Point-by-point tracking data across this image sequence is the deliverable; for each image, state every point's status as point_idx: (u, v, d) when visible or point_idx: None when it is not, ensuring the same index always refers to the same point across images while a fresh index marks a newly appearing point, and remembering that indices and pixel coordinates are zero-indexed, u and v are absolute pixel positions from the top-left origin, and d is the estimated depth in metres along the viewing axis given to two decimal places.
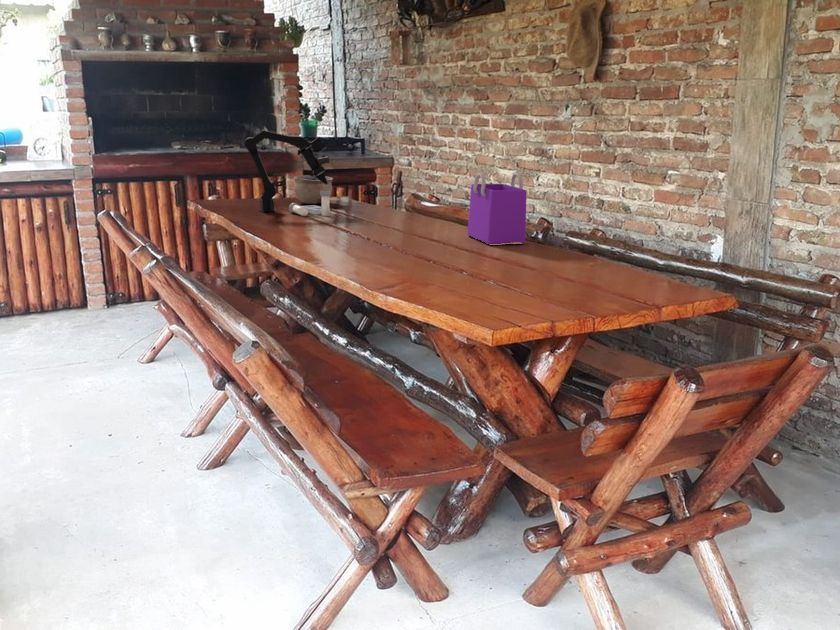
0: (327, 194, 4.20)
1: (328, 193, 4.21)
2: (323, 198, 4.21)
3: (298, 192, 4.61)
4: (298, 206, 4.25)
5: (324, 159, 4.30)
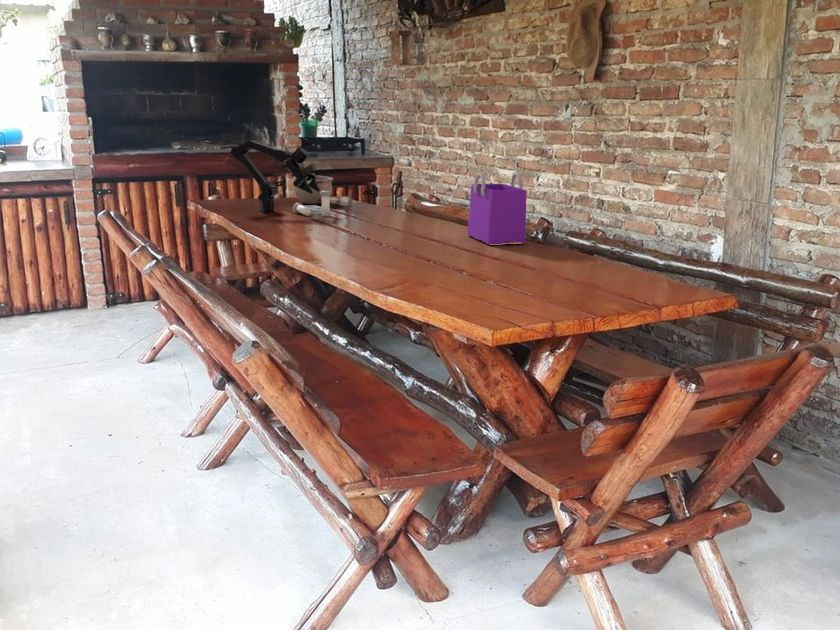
0: (327, 194, 4.20)
1: (328, 193, 4.21)
2: (323, 198, 4.21)
3: (298, 192, 4.61)
4: None
5: (306, 168, 4.19)
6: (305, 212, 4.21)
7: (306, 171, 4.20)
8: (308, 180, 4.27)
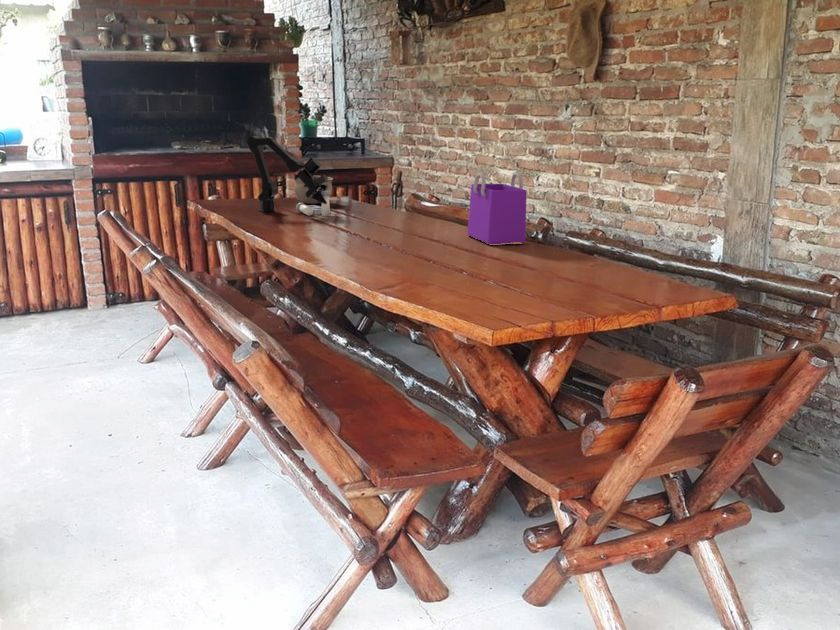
0: (327, 194, 4.20)
1: (328, 193, 4.21)
2: None
3: (298, 192, 4.61)
4: None
5: (319, 179, 4.19)
6: (307, 210, 4.22)
7: (318, 182, 4.19)
8: (320, 190, 4.26)
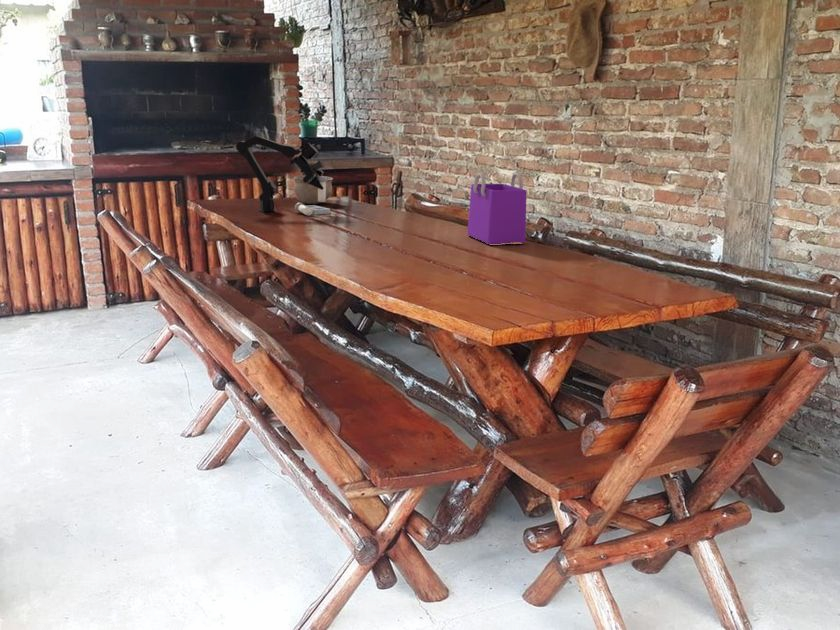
0: (324, 180, 4.24)
1: (325, 179, 4.24)
2: None
3: (298, 192, 4.61)
4: None
5: (316, 164, 4.22)
6: (306, 211, 4.22)
7: (315, 167, 4.22)
8: None
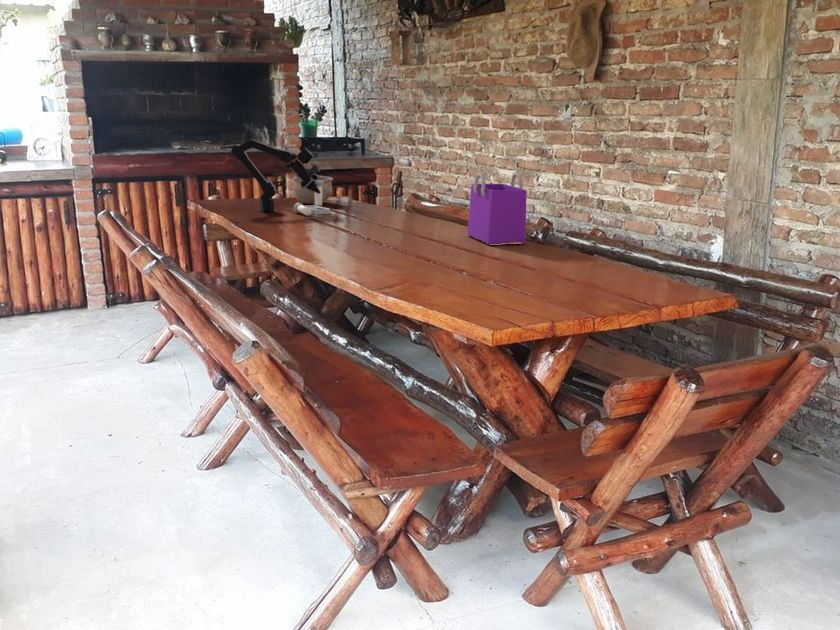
0: (321, 184, 4.28)
1: (321, 183, 4.28)
2: None
3: (298, 192, 4.61)
4: None
5: (312, 169, 4.26)
6: (306, 212, 4.22)
7: (312, 172, 4.26)
8: None
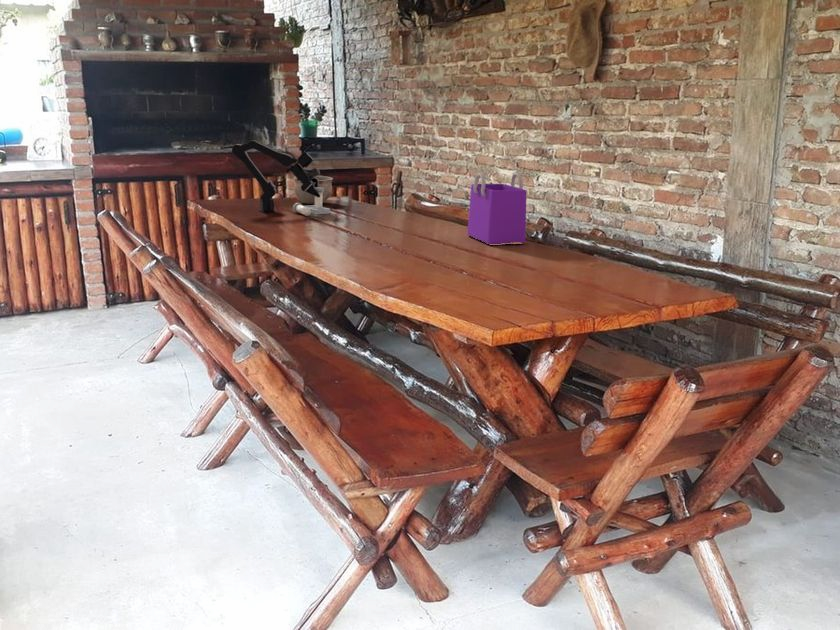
0: (321, 191, 4.29)
1: (322, 190, 4.29)
2: None
3: (298, 192, 4.61)
4: None
5: (312, 172, 4.26)
6: (305, 212, 4.21)
7: (312, 175, 4.27)
8: (312, 184, 4.34)
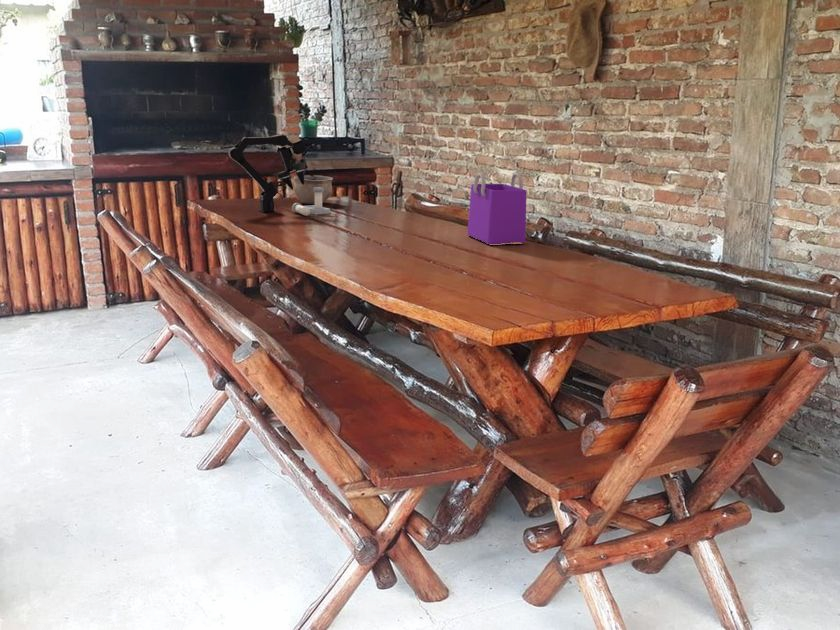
0: (321, 191, 4.29)
1: (322, 190, 4.29)
2: (317, 195, 4.30)
3: (298, 192, 4.61)
4: (303, 206, 4.26)
5: (295, 165, 4.26)
6: (304, 213, 4.21)
7: (294, 167, 4.27)
8: (297, 171, 4.35)
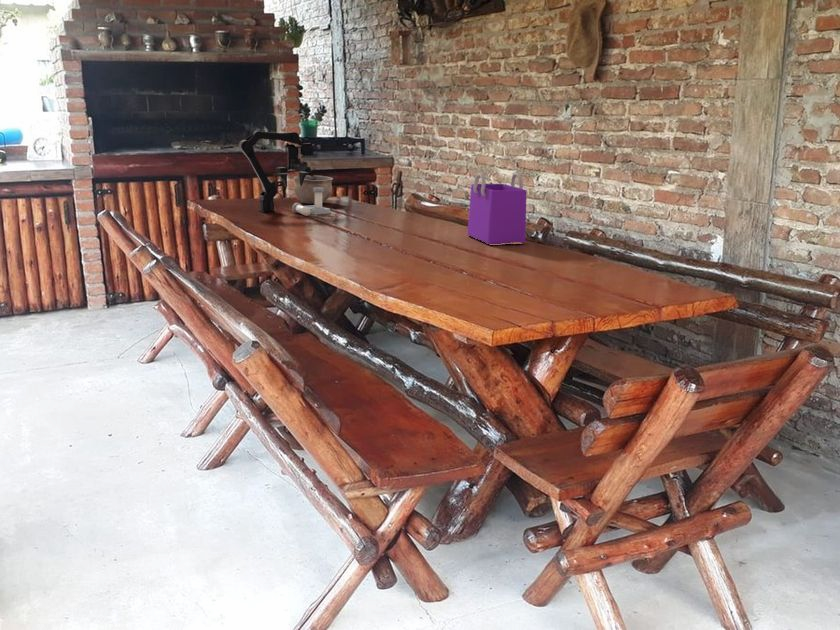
0: (321, 191, 4.29)
1: (321, 190, 4.29)
2: (317, 195, 4.29)
3: (298, 192, 4.61)
4: (303, 206, 4.26)
5: (295, 165, 4.27)
6: (304, 212, 4.21)
7: (294, 167, 4.28)
8: None
